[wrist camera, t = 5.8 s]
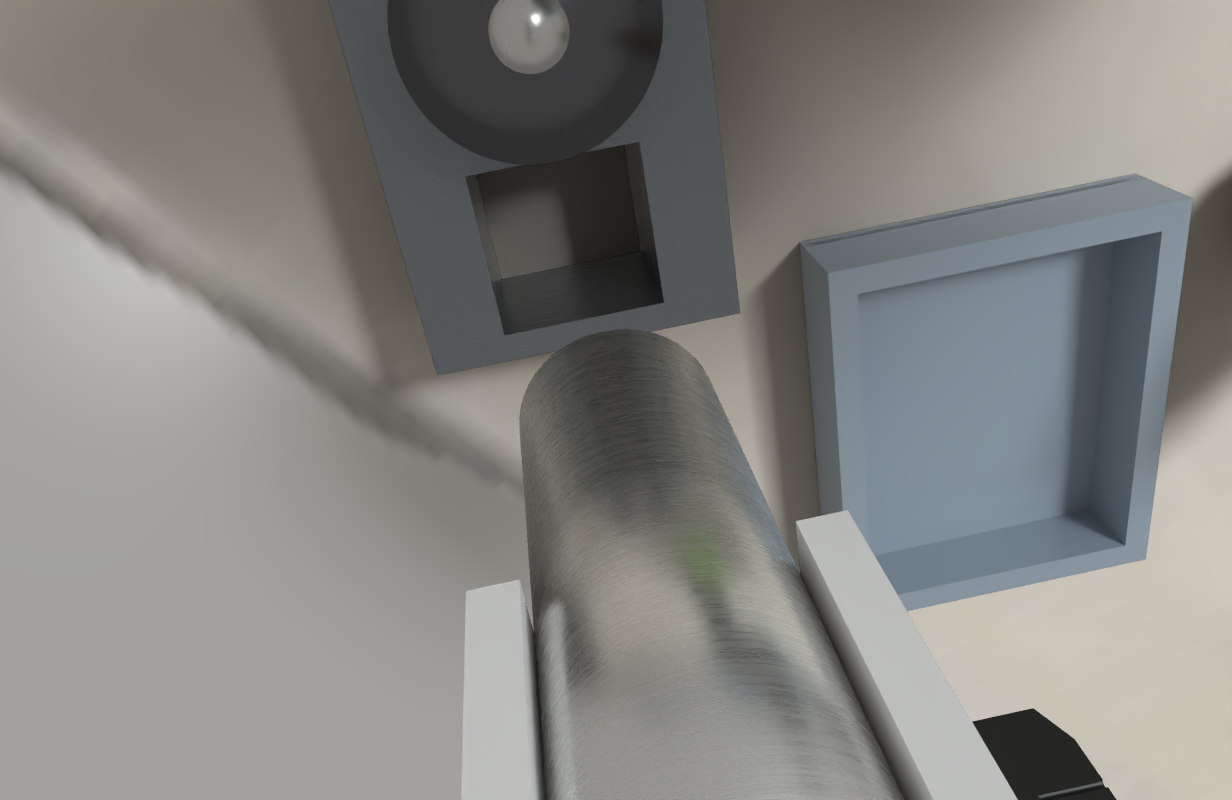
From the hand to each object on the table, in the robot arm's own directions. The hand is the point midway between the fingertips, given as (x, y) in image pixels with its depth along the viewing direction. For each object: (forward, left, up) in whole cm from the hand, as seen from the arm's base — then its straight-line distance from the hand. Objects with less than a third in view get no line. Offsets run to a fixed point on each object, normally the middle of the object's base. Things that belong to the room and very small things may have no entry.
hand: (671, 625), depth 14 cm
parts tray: (+12, +15, -22) cm, 29 cm away
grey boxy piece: (-3, 0, -22) cm, 23 cm away
